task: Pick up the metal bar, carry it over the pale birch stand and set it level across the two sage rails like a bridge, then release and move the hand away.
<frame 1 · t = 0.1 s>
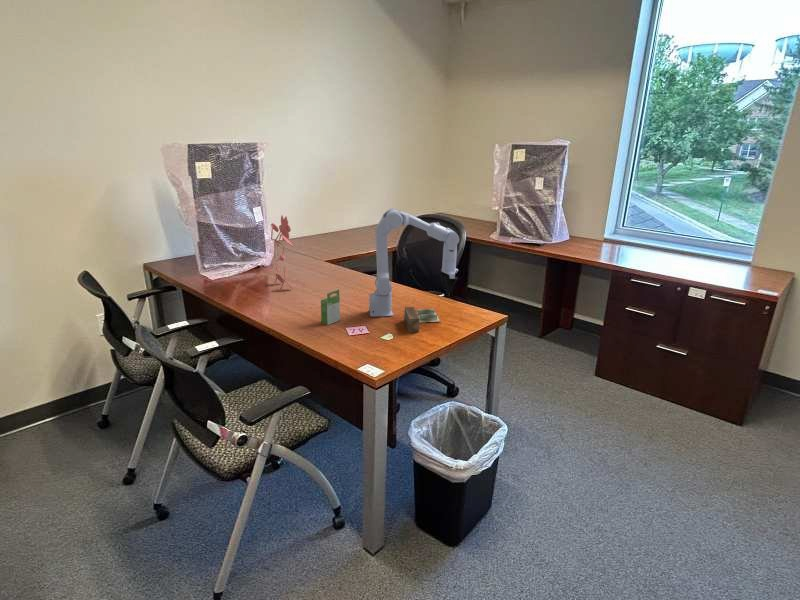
hand: (447, 290, 205), 10 cm above the table, tool pointing down, fingers open, 7 cm apart
ink box: (330, 322, 194), on the table
figurine: (290, 286, 236), on the table
rail stand: (427, 318, 200), on the table
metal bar: (411, 326, 192), on the table
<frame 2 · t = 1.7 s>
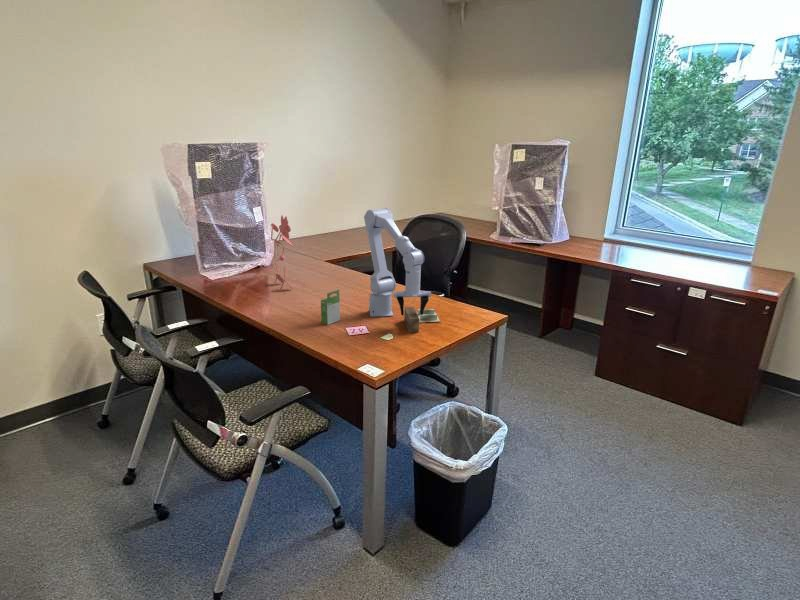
hand: (411, 314, 190), 5 cm above the table, tool pointing down, fingers open, 7 cm apart
nothing on the table moved.
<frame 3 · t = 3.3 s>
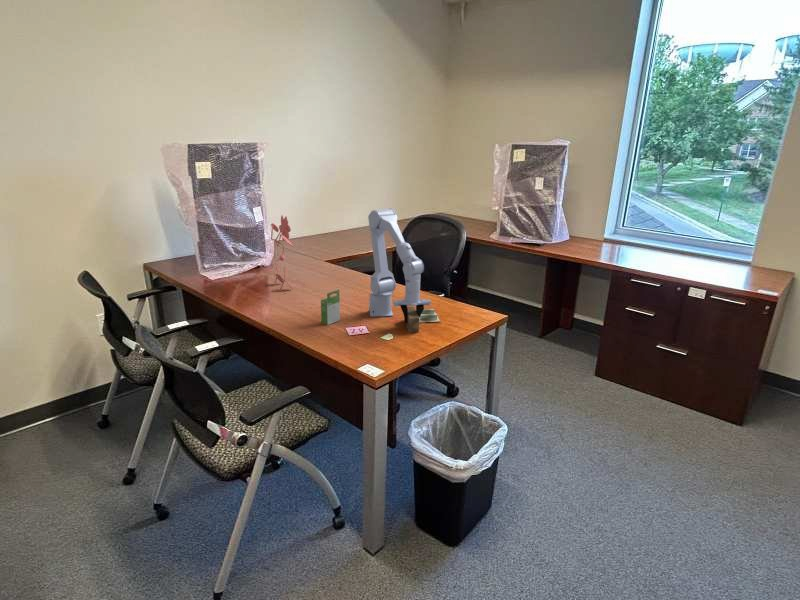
hand: (411, 322, 191), 2 cm above the table, tool pointing down, fingers closed on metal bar, 4 cm apart
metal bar: (411, 326, 192), on the table, touching gripper
everything else where it was.
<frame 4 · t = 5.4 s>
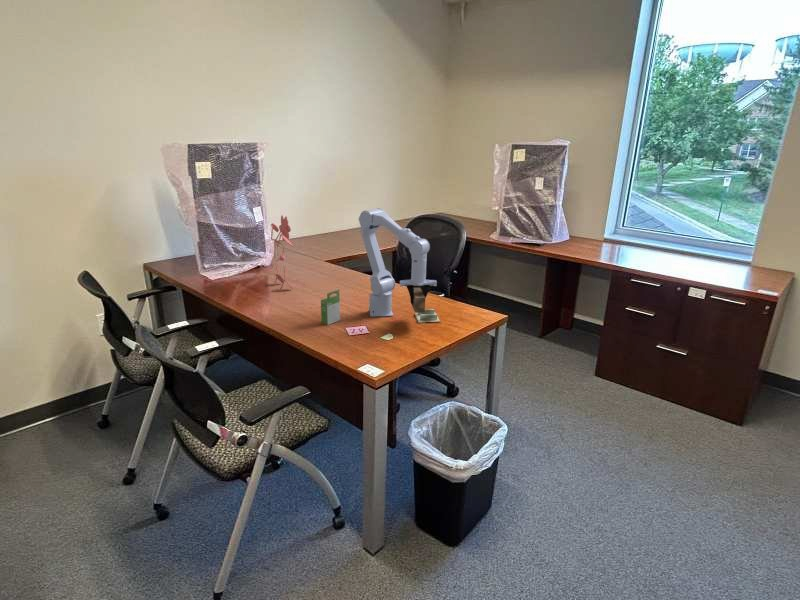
hand: (417, 302, 192), 9 cm above the table, tool pointing down, fingers closed on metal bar, 4 cm apart
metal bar: (417, 306, 192), point 7 cm above the table, touching gripper
everything else where it was.
when the fingers open (5 cm above the table, at t = 7.7 s): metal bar stays where it is, resting on rail stand.
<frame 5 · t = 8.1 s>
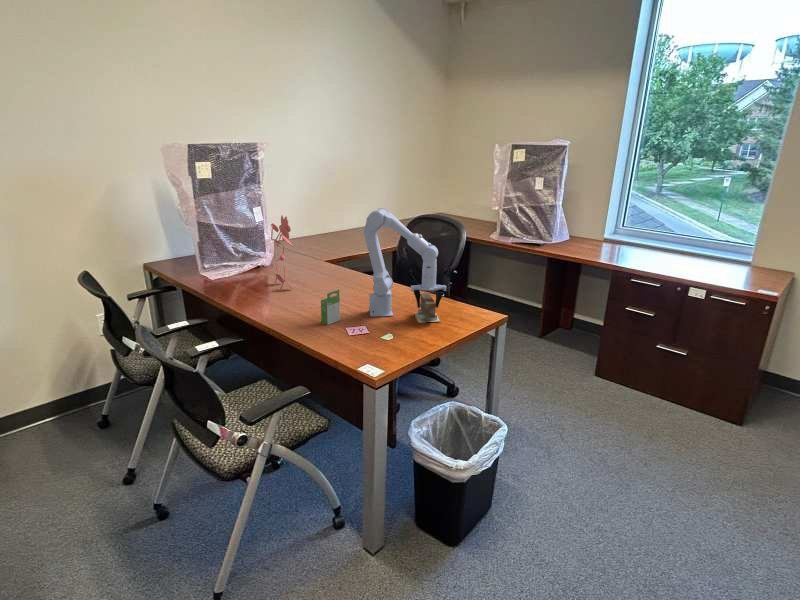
hand: (427, 307, 199), 5 cm above the table, tool pointing down, fingers open, 7 cm apart
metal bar: (427, 312, 199), point 3 cm above the table, touching rail stand
everything else where it was.
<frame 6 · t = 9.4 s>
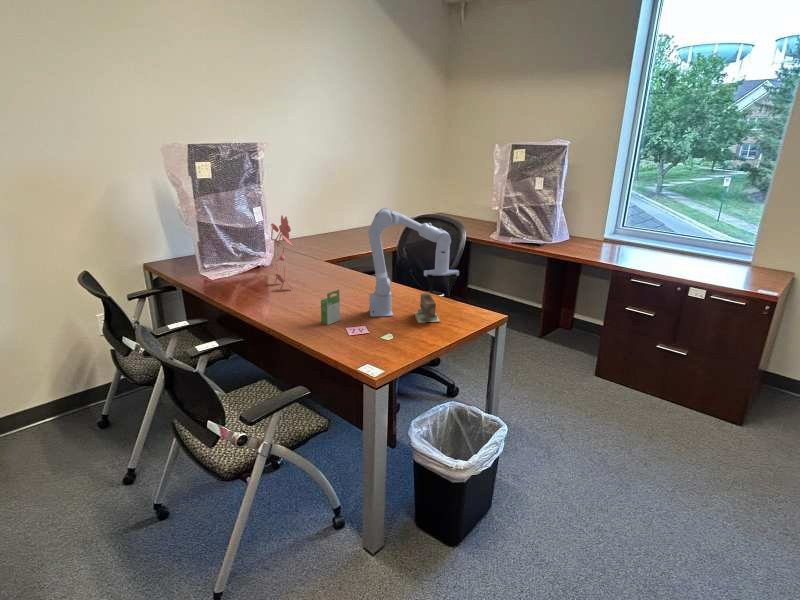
hand: (440, 291, 201), 10 cm above the table, tool pointing down, fingers open, 7 cm apart
nothing on the table moved.
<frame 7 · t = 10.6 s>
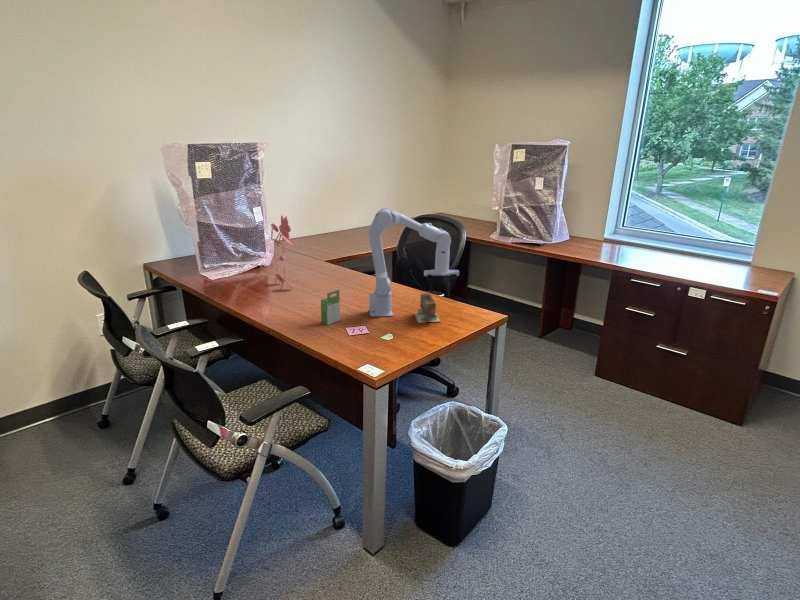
hand: (440, 292, 201), 10 cm above the table, tool pointing down, fingers open, 7 cm apart
nothing on the table moved.
at the end: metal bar inside the target area on the rail stand (0.0 cm from its centre), point 2.8 cm above the rail stand's base; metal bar tilted 0°; the gripper is holding nothing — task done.
